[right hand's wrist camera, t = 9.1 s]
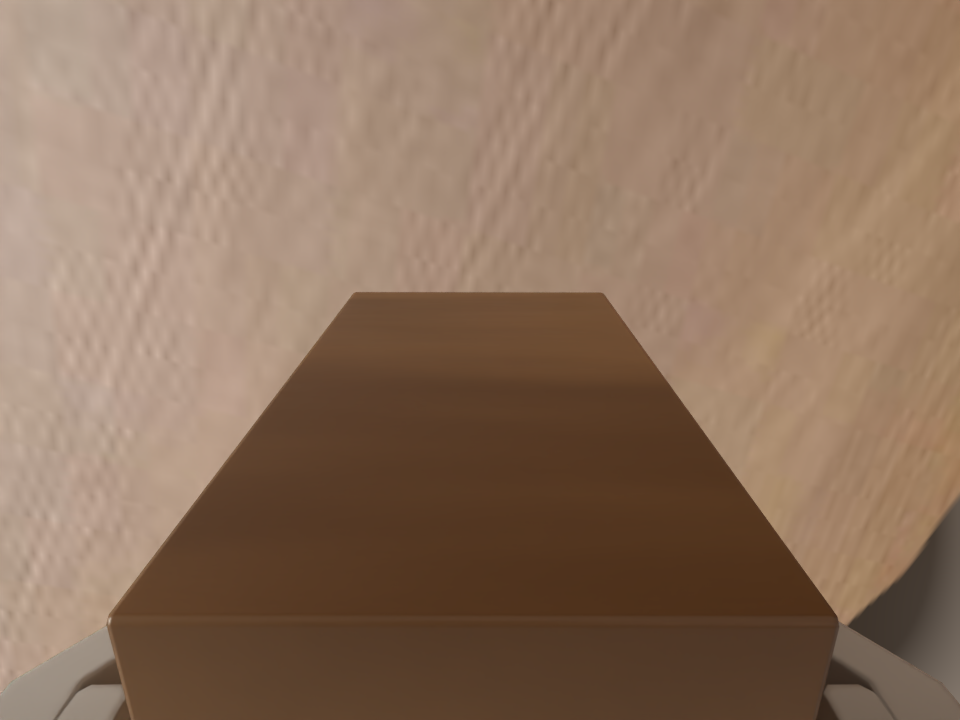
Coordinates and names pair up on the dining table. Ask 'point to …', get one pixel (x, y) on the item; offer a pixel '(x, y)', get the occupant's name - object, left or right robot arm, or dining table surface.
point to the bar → (474, 540)
